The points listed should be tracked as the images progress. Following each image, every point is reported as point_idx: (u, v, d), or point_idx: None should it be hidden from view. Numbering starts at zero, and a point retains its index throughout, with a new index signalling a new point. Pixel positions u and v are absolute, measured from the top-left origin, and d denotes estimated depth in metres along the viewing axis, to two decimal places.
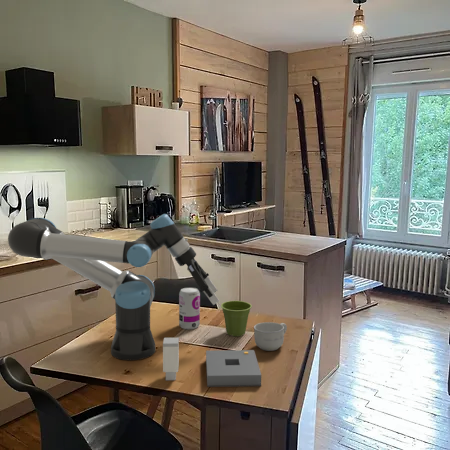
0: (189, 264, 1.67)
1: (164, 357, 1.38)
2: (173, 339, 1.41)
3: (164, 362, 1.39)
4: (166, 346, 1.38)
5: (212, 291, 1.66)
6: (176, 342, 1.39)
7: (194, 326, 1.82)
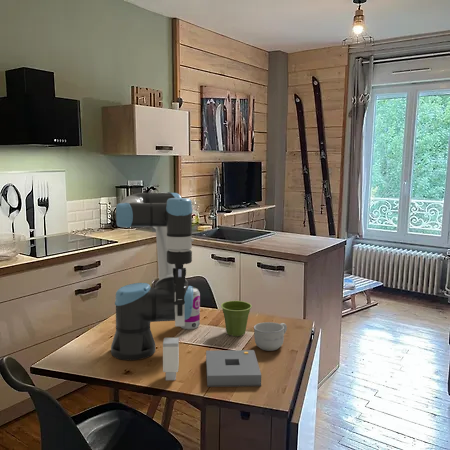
0: (179, 267, 1.35)
1: (164, 357, 1.38)
2: (173, 339, 1.41)
3: (164, 362, 1.39)
4: (166, 346, 1.38)
5: (184, 311, 1.34)
6: (176, 342, 1.39)
7: (194, 326, 1.82)
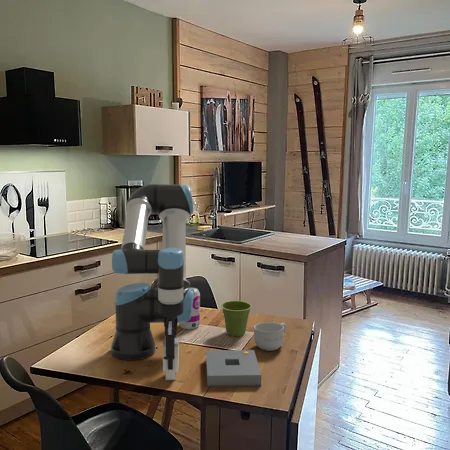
0: (169, 319, 1.35)
1: None
2: None
3: (164, 362, 1.39)
4: None
5: (174, 365, 1.38)
6: (176, 342, 1.39)
7: (194, 326, 1.82)
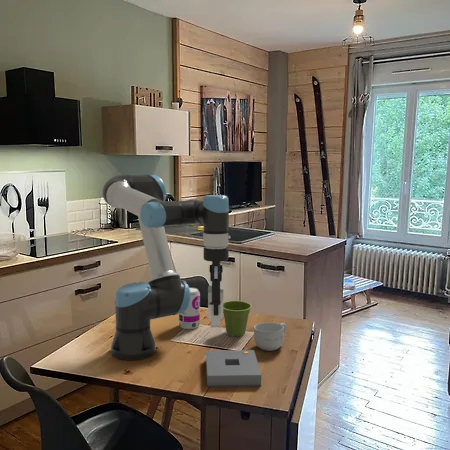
0: (215, 264, 1.36)
1: None
2: None
3: (209, 308, 1.39)
4: None
5: (220, 311, 1.38)
6: (221, 288, 1.39)
7: (194, 326, 1.82)
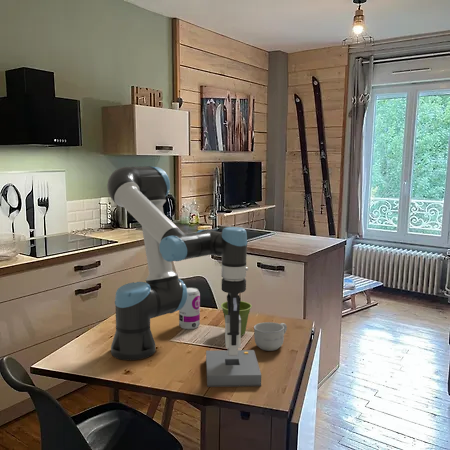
0: (234, 296, 1.39)
1: None
2: None
3: (227, 338, 1.42)
4: (229, 322, 1.41)
5: (237, 341, 1.41)
6: (239, 318, 1.42)
7: (194, 326, 1.82)
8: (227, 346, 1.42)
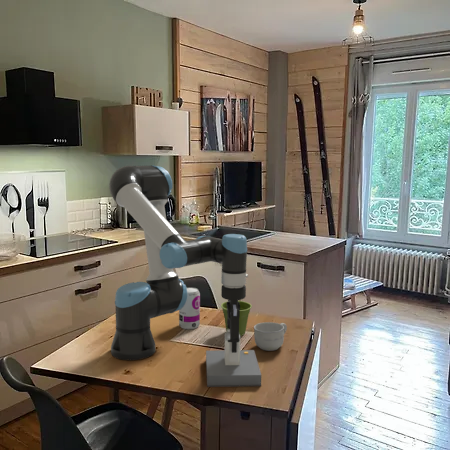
0: (234, 303, 1.39)
1: (226, 351, 1.43)
2: None
3: (226, 355, 1.43)
4: None
5: None
6: None
7: (194, 326, 1.82)
8: (226, 363, 1.43)
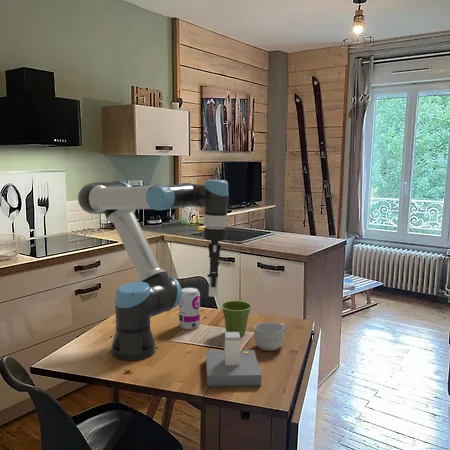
0: (214, 243, 1.48)
1: (226, 351, 1.43)
2: (234, 333, 1.45)
3: (226, 355, 1.43)
4: (229, 340, 1.42)
5: (217, 283, 1.47)
6: (238, 336, 1.43)
7: (194, 326, 1.82)
8: (226, 363, 1.43)
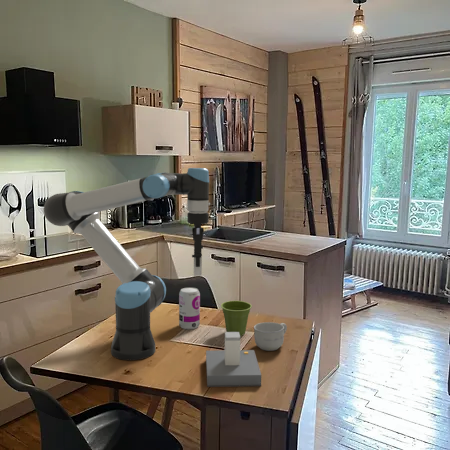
0: (197, 226, 1.60)
1: (226, 351, 1.43)
2: (234, 333, 1.45)
3: (226, 355, 1.43)
4: (229, 340, 1.42)
5: (201, 263, 1.59)
6: (238, 336, 1.43)
7: (194, 326, 1.82)
8: (226, 363, 1.43)
